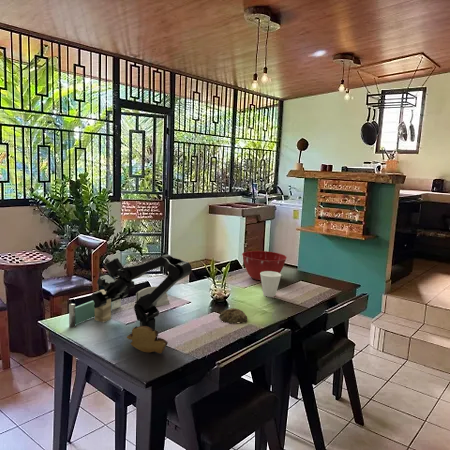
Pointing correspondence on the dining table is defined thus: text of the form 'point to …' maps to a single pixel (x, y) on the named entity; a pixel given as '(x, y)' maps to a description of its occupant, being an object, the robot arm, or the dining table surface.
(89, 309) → the green upright panel
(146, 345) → the wooden carving
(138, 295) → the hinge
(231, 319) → the brown dome mound
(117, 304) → the frame
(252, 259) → the mixing bowl
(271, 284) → the cup
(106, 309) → the block
